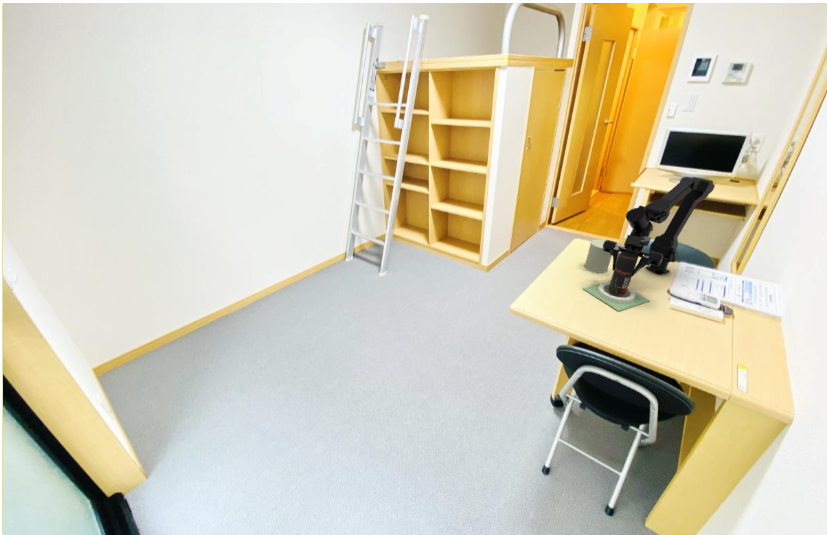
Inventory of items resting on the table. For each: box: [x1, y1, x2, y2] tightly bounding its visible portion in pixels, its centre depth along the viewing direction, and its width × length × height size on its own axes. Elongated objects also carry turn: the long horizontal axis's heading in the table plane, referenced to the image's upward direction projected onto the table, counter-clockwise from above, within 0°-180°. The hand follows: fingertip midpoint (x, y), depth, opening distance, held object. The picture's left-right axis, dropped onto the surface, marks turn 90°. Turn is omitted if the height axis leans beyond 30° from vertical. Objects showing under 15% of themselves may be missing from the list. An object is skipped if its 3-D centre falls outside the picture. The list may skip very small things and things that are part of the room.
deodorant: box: [608, 252, 639, 295], centre depth 126 cm, size 6×6×15 cm
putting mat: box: [582, 279, 651, 313], centre depth 130 cm, size 16×16×2 cm
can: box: [583, 238, 613, 274], centre depth 146 cm, size 9×9×12 cm
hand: (622, 273), depth 124 cm, fingers closed on deodorant, 6 cm apart
